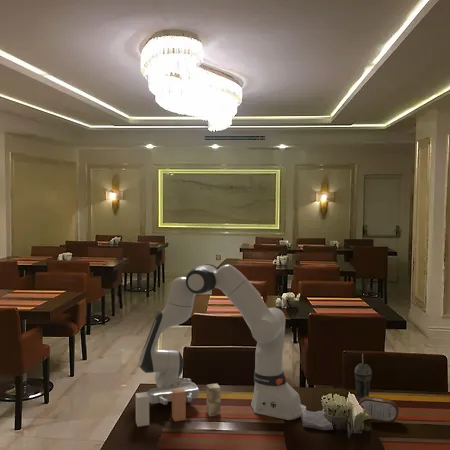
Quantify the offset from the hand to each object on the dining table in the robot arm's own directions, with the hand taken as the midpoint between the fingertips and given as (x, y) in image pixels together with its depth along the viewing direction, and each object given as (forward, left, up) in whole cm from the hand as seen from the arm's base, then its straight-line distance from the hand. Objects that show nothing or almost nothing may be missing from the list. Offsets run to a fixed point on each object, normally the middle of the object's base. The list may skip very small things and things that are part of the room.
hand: (177, 401), depth 200 cm
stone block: (-46, -27, -7) cm, 54 cm away
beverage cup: (-50, -59, -6) cm, 78 cm away
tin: (-62, -45, -6) cm, 77 cm away
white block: (+6, +13, -6) cm, 15 cm away
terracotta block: (-1, +1, -6) cm, 6 cm away
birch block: (-9, -11, -6) cm, 15 cm away
